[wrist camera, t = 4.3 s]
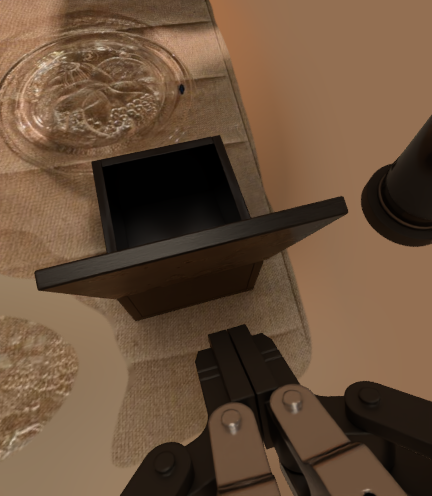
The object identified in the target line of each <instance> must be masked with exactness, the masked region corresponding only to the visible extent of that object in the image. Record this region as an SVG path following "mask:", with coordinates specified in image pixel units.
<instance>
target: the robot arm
mask: <svg viewBox="0 0 432 496" xmlns="http://www.w3.org/2000/svg"><path fill="white" fill-rule="evenodd" d="M393 164H394V165H393ZM393 164H392V165H393V166H392V165H391V166H392V167H391V169H389V171H388V172H387V173H386V174H385V175H384V177H383V178H382V179H381V181H380V182H379V185H378V188H377V197H378V201H379V204H380V206H381V208H382V209H383V211H384V212H385V213H386V214H387V215H388V216H389V217H390V218H391V219H392V220H393V221H395V222H396V223H398V224H400V225H402V226H404V227H406V228H409V229H413V230H431V229H432V115H431V116H430V118H429V119H428V120H427V122H426V123H425V124H424V126H423V127H422V128H421V130H420V131H419V132H418V133H417V135H416V136H415V137H414V139H413V140H412V141H411V143H410V144H409V145H408V146H407V148H406V149H405V150H404V152H403V153H402V154H401V155H400V156H399V157H398V158H397V160H396V161H395V162H394V163H393ZM208 338H209V343H210V347H211V348H209V349H205V350H202V351H198V354H197V357H196V360H195V364H196V368H197V372H198V376H199V380H200V384H201V388H202V392H203V396H204V400H205V404H206V408H207V412H208V422H207V425H206V427H205V429H204V431H203V432H202V433H201V435H200V436H199V437H198V438H196V439H195V440H194V441H192V442H191V443H189V444H188V445H186V446H183V445H182V444H180V443H176V442H168V443H164V444H161V445H159V446H157V447H155V448H154V449H153V450H151V451H150V452H149V453H148V455H147V456H146V457H145V459H144V460H143V462H142V463H141V465H140V466H139V468H138V469H137V471H136V472H135V474H134V475H133V477H132V478H131V480H130V481H129V483H128V484H127V486H126V487H125V489H124V490H123V492H122V493H121V495H120V496H281V495H280V491H279V488H278V485H277V482H276V479H275V477H274V475H272V472H271V469H270V466H269V463H268V459H267V456H266V453H265V450H264V444H265V447H266V449H269V448H272V447H275V450H276V452H277V454H278V457H279V463H280V468H281V471H282V473H283V475H284V477H285V479H286V481H287V483H288V485H289V487H290V489H291V491H292V493H293V495H294V496H432V402H431V401H428V400H425V399H422V398H419V397H416V396H413V395H410V394H408V393H404V392H402V391H399V390H396V389H393V388H390V387H387V386H384V385H381V384H378V383H374V382H370V381H360V382H356V383H354V384H352V385H350V386H349V387H348V388H347V389H346V391H345V394H344V396H330V397H327V396H318V395H315V394H313V393H312V392H311V391H310V390H309V389H308V388H306V387H304V386H301V385H300V383H299V382H298V380H297V379H296V377H295V375H294V374H293V372H292V371H291V369H290V368H289V366H288V364H287V363H286V361H285V360H284V358H283V357H282V355H281V353H280V352H279V350H278V349H277V347H276V345H275V344H274V342H273V341H272V339H271V338H269V337H267V336H266V335H264V334H263V333H260V334H257V335H253V336H252V335H251V334H250V332H249V330H248V328H247V326H246V325H245V324H244V325H240V326H236V327H233V328H229V329H227V331H226V330H223V331H219V332H216V333H212V334H209V335H208ZM263 442H264V444H263ZM401 446H402V447H401ZM408 449H409V450H408ZM415 452H416V453H415ZM422 455H423V456H422ZM429 458H430V459H429Z"/></svg>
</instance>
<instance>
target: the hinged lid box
mask: <svg viewBox="0 0 432 496" xmlns="http://www.w3.org/2000/svg"><path fill="white" fill-rule="evenodd" d="M91 163H92V169H93V175H94V181H95V186H96V192H97V198H98V204H99V210H100V216H101V222H102V227H103V233H104V239H105V245H106V251H107V253H110V252H114V251H118V250H122V249H126V248H130V247H134V246H138V245H143V244H147V243H151V242H155V241H159V240H163V239H167V238H171V237H176V236H180V235H184V234H188V233H192V232H196V231H200V230H204V229H208V228H213V227H217V226H221V225H225V224H229V223H233V222H237V221H241V220H245V219H250V218H251V217H250V215H249V212H248V209H247V207H246V204H245V201H244V198H243V196H242V193H241V190H240V188H239V185H238V182H237V180H236V177H235V174H234V172H233V169H232V166H231V163H230V161H229V158H228V155H227V153H226V150H225V147H224V145H223V142H222V139H221V137H220V135H218V136H213V137H207V138H202V139H198V140H193V141H188V142H183V143H178V144H173V145H169V146H164V147H159V148H154V149H149V150H145V151H140V152H135V153H130V154H125V155H120V156H116V157H111V158H106V159H101V160H97V161H92V162H91ZM262 264H263V261H260V262H256V263H252V264H248V265H244V266H241V267H237V268H233V269H229V270H225V271H221V272H218V273H214V274H210V275H206V276H202V277H198V278H195V279H191V280H187V281H183V282H179V283H175V284H172V285H168V286H164V287H160V288H156V289H152V290H149V291H145V292H141V293H137V294H133V295H129V296H126V297H122V298H118V299H117V300H118V301H119V302H120V303H121V305H122V306H123V307H124V308H125V309H126V310H127V312H128V313H129V314H130V315H131V316H132V317H133V319H134V320H135V321H138V320H141V319H145V318H149V317H152V316H156V315H160V314H164V313H167V312H171V311H175V310H178V309H182V308H186V307H189V306H193V305H197V304H200V303H204V302H208V301H211V300H215V299H219V298H223V297H226V296H230V295H234V294H237V293H241V292H245V291H248V290H252V289H253V288H254V285H255V282H256V280H257V277H258V274H259V272H260V269H261V266H262Z"/></svg>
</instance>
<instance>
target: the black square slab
mask: <svg viewBox="0 0 432 496" xmlns="http://www.w3.org/2000/svg"><path fill="white" fill-rule="evenodd" d="M347 213H348V209H347V206H346V203H345V200H344V197H342V196H341V197H336V198H332V199H328V200H324V201H320V202H316V203H311V204H307V205H303V206H299V207H295V208H291V209H287V210H282V211H279V212H274V213H270V214H266V215H262V216H258V217H254V218H250V219H245V220H241V221H237V222H233V223H229V224H225V225H221V226H217V227H213V228H208V229H204V230H200V231H196V232H192V233H188V234H184V235H180V236H176V237H171V238H167V239H163V240H159V241H155V242H151V243H147V244H143V245H138V246H134V247H130V248H126V249H122V250H118V251H114V252H110V253H106V254H101V255H97V256H93V257H89V258H85V259H81V260H77V261H73V262H69V263H64V264H60V265H56V266H52V267H48V268H44V269H40V270H36V271H35V273H34V274H35V279H36V284H37V288H38V290H39V291H47V292H56V293H65V294H73V295H82V296H90V297H99V298H108V299H118V298H122V297H126V296H129V295H133V294H137V293H141V292H145V291H149V290H152V289H156V288H160V287H164V286H168V285H172V284H175V283H179V282H183V281H187V280H191V279H195V278H198V277H202V276H206V275H210V274H214V273H218V272H221V271H225V270H229V269H233V268H237V267H241V266H244V265H248V264H252V263H256V262H260V261H264V260H267V259H269V258H271V257H272V256H274V255H276V254H278V253H279V252H281V251H283V250H285V249H286V248H288V247H290V246H292V245H293V244H295V243H296V242H298V241H300V240H302V239H304V238H306V237H307V236H309V235H311V234H313V233H314V232H316V231H318V230H320V229H321V228H323V227H325V226H326V225H328V224H330V223H332V222H333V221H335V220H337V219H339V218H340V217H342V216H344V215H346V214H347Z"/></svg>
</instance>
